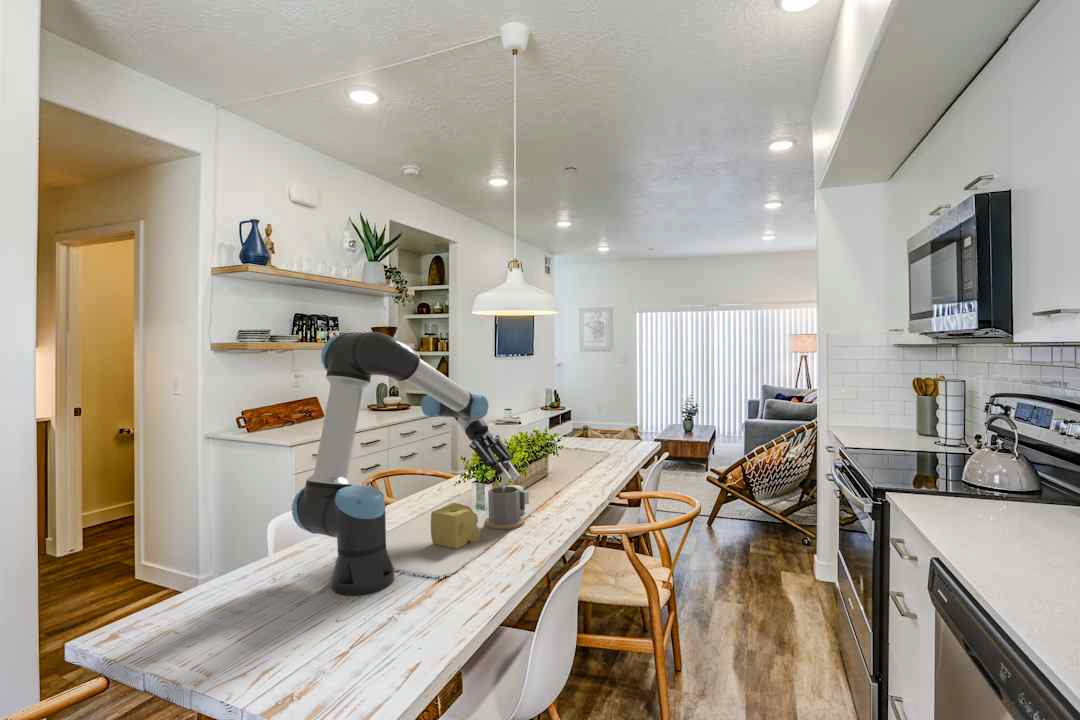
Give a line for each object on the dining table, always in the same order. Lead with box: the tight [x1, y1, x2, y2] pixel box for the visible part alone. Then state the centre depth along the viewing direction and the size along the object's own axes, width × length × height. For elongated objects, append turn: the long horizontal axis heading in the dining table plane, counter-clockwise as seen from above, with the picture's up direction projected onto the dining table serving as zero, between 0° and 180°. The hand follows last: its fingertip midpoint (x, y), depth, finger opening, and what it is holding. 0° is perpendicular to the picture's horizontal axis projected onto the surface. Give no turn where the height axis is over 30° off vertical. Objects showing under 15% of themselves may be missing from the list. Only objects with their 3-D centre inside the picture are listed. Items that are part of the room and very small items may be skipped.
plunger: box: [497, 460, 509, 494], centre depth 184 cm, size 6×6×16 cm
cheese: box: [430, 502, 480, 550], centre depth 169 cm, size 10×11×10 cm
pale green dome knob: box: [508, 484, 530, 516], centre depth 195 cm, size 8×10×9 cm
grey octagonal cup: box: [484, 485, 526, 531], centre depth 185 cm, size 13×13×11 cm
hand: (512, 479), depth 182 cm, fingers closed on plunger, 4 cm apart
